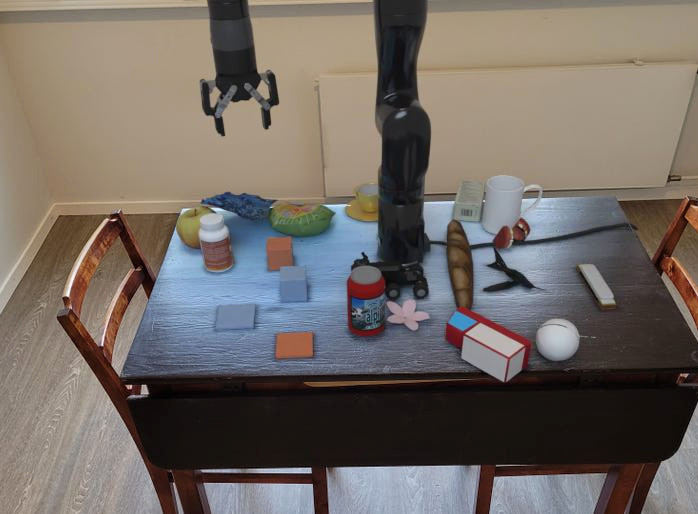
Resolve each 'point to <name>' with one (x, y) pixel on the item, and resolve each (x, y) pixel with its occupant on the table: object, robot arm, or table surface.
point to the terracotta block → (279, 252)
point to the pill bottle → (215, 243)
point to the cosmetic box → (469, 200)
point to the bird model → (511, 273)
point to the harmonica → (596, 286)
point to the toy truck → (488, 344)
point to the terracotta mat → (294, 345)
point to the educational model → (300, 218)
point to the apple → (191, 225)
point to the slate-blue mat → (236, 317)
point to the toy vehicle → (398, 277)
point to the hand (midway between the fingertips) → (244, 131)
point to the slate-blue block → (293, 283)
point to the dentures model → (512, 234)
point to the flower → (406, 314)
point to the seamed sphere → (557, 339)
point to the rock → (242, 204)
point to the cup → (364, 203)
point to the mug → (505, 202)
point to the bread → (460, 264)
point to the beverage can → (366, 301)
